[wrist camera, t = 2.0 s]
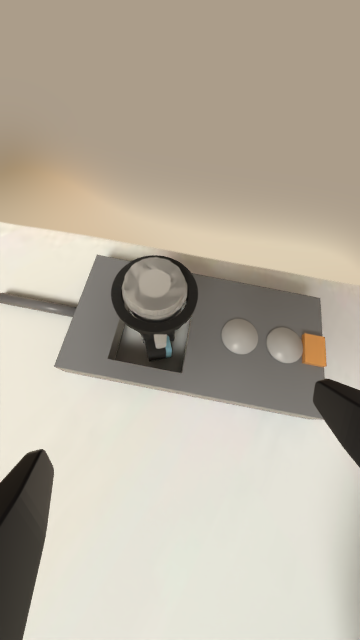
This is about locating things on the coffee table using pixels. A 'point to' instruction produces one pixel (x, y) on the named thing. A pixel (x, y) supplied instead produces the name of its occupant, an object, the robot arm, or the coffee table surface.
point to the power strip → (205, 343)
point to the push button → (155, 300)
